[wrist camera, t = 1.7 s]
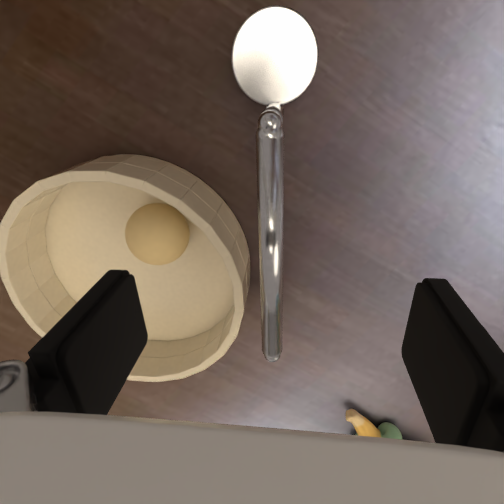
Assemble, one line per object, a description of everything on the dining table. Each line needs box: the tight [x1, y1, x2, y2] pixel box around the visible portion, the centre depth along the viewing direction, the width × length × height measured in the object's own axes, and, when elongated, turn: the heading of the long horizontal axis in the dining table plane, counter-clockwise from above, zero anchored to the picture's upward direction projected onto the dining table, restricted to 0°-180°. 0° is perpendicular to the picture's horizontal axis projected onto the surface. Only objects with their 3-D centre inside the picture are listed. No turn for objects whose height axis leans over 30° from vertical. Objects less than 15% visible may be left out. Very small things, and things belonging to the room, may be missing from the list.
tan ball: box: [125, 203, 190, 265], centre depth 21 cm, size 4×4×4 cm
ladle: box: [231, 5, 319, 362], centre depth 18 cm, size 18×4×7 cm, turn 2°
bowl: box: [0, 154, 251, 382], centre depth 23 cm, size 16×16×4 cm
